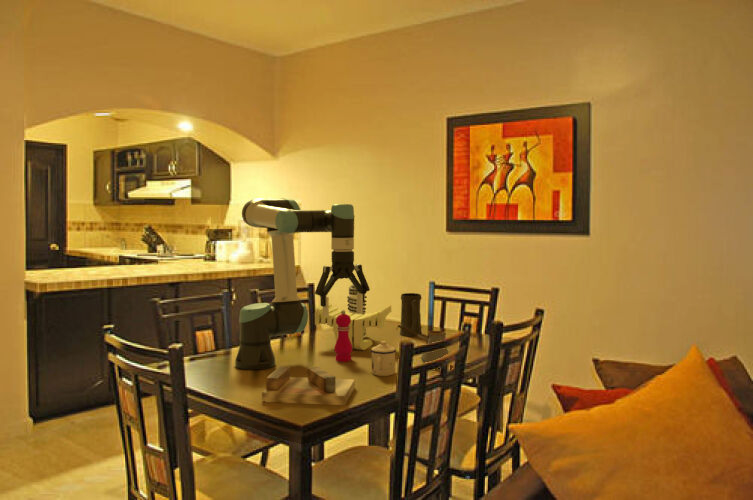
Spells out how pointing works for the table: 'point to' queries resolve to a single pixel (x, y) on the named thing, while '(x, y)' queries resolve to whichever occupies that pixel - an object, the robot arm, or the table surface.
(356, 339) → the slatted curved stool
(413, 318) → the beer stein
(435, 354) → the coffee pot
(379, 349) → the teacup with lid
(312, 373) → the hinged leg
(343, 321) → the pepper mill
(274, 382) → the wooden board with block
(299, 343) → the table surface
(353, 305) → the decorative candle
